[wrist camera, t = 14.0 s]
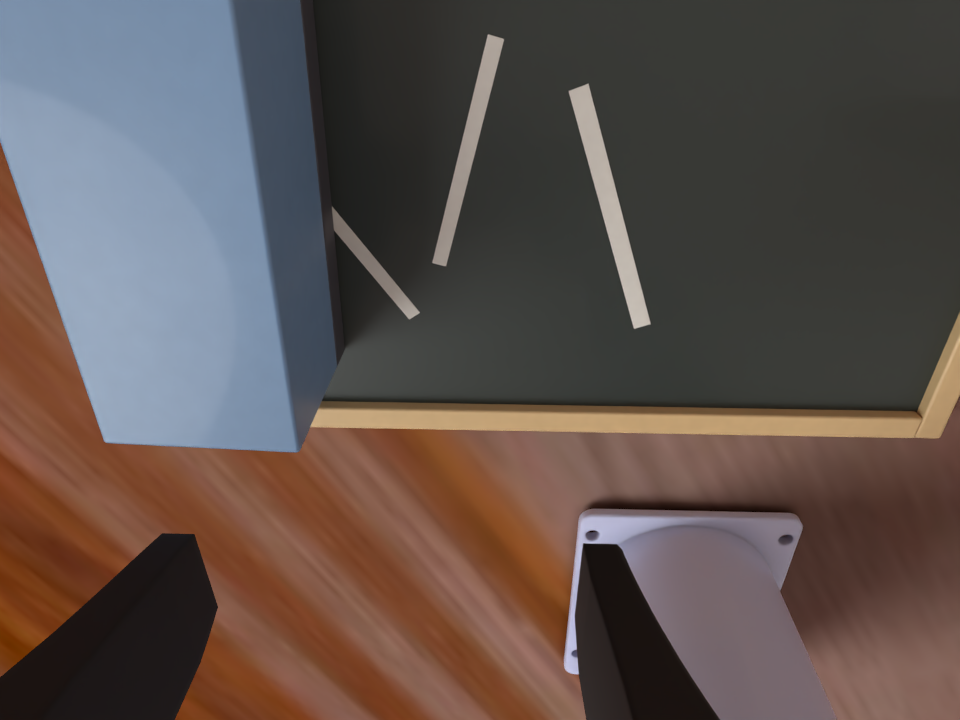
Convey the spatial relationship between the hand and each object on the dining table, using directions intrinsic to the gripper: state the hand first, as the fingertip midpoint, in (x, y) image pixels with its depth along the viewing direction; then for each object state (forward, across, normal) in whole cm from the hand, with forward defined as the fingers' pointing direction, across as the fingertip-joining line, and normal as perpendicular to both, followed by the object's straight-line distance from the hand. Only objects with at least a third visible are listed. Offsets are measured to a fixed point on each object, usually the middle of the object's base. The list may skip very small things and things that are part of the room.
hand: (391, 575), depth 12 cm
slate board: (+9, -3, -4) cm, 11 cm away
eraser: (+9, +5, -5) cm, 11 cm away
